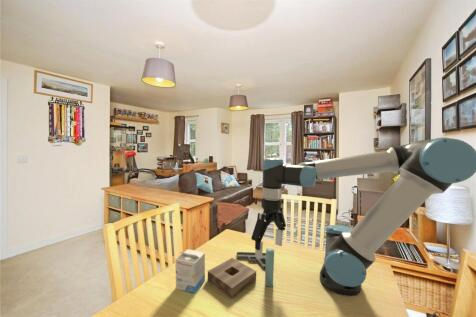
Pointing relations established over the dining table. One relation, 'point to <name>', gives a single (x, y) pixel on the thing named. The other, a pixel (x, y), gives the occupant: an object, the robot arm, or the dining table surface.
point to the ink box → (190, 270)
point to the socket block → (231, 277)
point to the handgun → (253, 258)
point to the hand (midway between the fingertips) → (269, 250)
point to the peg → (269, 267)
